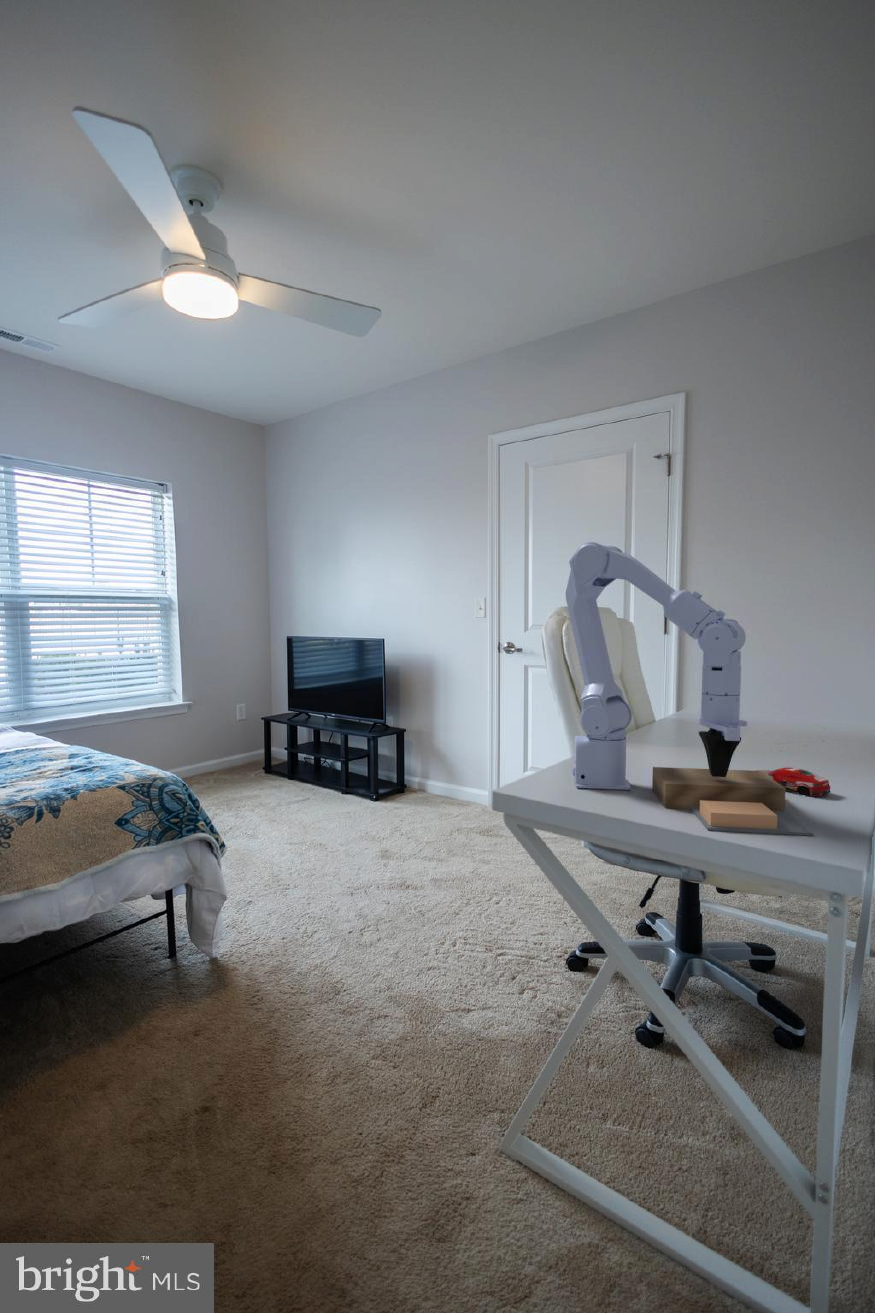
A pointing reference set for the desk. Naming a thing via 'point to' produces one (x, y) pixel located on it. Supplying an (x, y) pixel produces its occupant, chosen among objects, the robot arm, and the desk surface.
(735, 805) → the tan wooden block
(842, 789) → the desk surface
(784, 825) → the mat
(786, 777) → the race car
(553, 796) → the desk surface
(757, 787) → the brown wooden flat block
